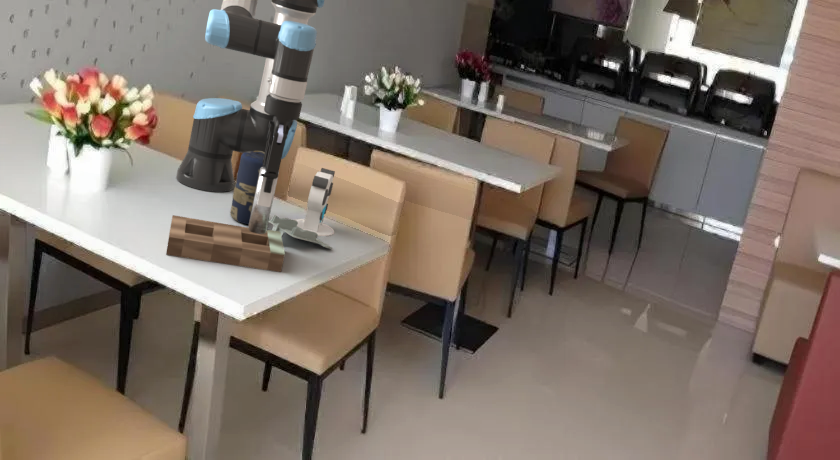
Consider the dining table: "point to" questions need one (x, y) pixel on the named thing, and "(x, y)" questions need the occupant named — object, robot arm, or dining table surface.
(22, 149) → the dining table surface
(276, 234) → the pin plate
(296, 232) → the metal bracket
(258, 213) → the steel pin
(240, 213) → the canister
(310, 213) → the white upright piece
